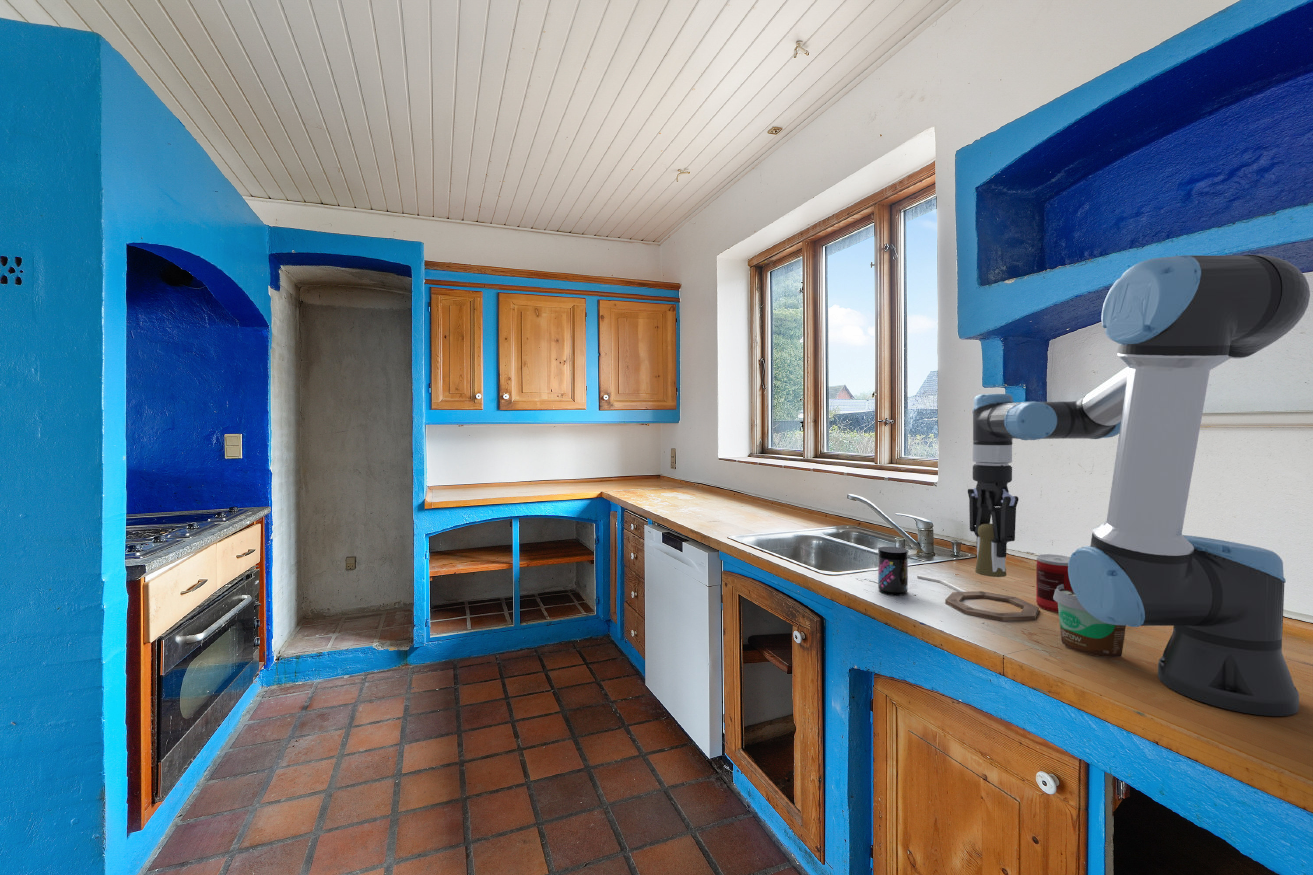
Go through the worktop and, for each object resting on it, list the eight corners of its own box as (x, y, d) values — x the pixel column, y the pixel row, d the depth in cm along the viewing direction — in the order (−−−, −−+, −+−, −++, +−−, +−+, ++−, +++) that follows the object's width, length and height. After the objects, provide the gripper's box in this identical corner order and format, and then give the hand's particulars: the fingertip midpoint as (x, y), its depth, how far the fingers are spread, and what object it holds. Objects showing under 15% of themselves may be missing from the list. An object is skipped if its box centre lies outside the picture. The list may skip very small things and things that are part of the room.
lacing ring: (1056, 618, 117) (1057, 614, 117) (980, 622, 116) (980, 618, 116) (1000, 593, 134) (1000, 590, 134) (932, 596, 132) (932, 592, 132)
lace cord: (967, 594, 134) (967, 591, 134) (950, 594, 133) (950, 592, 133) (931, 576, 149) (931, 574, 149) (916, 577, 148) (916, 575, 148)
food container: (1036, 638, 107) (1037, 586, 106) (1059, 634, 109) (1060, 583, 108) (1107, 665, 95) (1108, 607, 95) (1131, 659, 97) (1132, 602, 97)
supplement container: (877, 586, 141) (877, 545, 140) (906, 589, 138) (907, 547, 138) (878, 594, 134) (878, 551, 134) (908, 597, 132) (909, 553, 132)
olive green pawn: (1012, 576, 122) (1013, 526, 121) (984, 577, 122) (985, 527, 121) (996, 569, 128) (997, 521, 127) (969, 569, 128) (970, 521, 127)
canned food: (1073, 604, 126) (1073, 555, 126) (1082, 615, 119) (1083, 564, 118) (1032, 599, 129) (1033, 552, 129) (1039, 610, 122) (1040, 560, 122)
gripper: (1037, 467, 115) (1035, 578, 116) (982, 460, 133) (981, 557, 133) (1003, 467, 115) (1001, 580, 116) (952, 461, 132) (951, 558, 133)
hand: (990, 567), depth 125 cm, fingers closed on olive green pawn, 4 cm apart
